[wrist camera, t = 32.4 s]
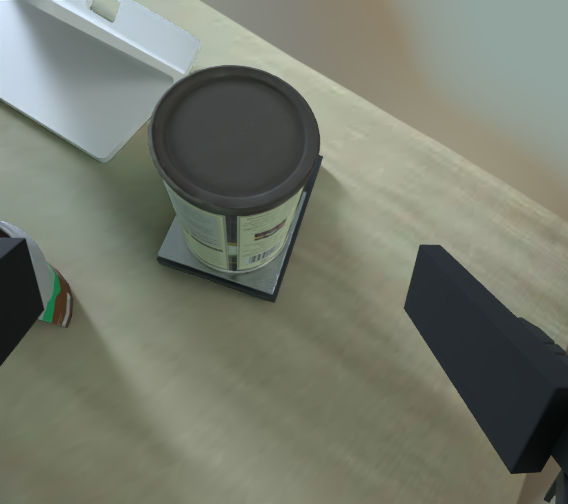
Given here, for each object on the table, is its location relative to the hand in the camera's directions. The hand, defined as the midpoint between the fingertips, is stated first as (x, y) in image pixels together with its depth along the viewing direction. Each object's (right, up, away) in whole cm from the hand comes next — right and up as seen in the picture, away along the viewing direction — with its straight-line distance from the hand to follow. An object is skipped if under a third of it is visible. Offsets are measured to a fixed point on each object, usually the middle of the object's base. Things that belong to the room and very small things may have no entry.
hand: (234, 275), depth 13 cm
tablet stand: (-23, +24, +31) cm, 45 cm away
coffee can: (-3, +4, +23) cm, 23 cm away
